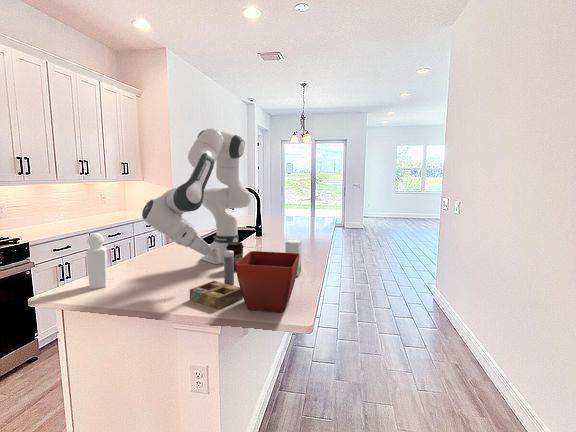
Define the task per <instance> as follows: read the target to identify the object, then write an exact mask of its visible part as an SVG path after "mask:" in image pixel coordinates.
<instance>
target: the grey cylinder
mask: <svg viewBox="0 0 576 432" xmlns="http://www.w3.org/2000/svg"><path fill="white" fill-rule="evenodd" d="M223 277H224V279H223V281H224V282H223V283H225V284H229V285H233V286H235V271H234V251H230V250H229V251H224V264H223Z"/></svg>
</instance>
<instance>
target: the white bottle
mask: <svg viewBox="0 0 576 432" xmlns="http://www.w3.org/2000/svg"><path fill="white" fill-rule="evenodd" d="M104 242H105V238H104V236H103V235H102V234H101V233H98V232H94V233H91V234H90V235H89V236H88V238H87V242H86V243H87V244H88V245H89V248H88V249H87V250H86V252H85V257H86V266H87V274H88V275H87V276H88V284H89V289H90V290H93V289H94V290H95V289H102V288H106V287H107V286H108V260H107V259H108V258H107V257H108V256H107V255H108V254H107V253H108V252H107V249H108V248H107V247H106V246H103V244H104Z"/></svg>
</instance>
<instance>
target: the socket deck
mask: <svg viewBox="0 0 576 432" xmlns="http://www.w3.org/2000/svg"><path fill="white" fill-rule="evenodd" d="M189 300H190V301H191V302H195V303H198V304H202V305H205V306H207V307H211V308H214V309H218V310H221V309H223V308H225V307H228V306H230V305H231V304H234V303H236V302H238V301H241V300H244V298H243V296H242V292H241V289H240V286H237V285H236V286H235V285H229V284H225V283H224V282H221V281H217V280H213V281H209V282H207V283H204V284H201V285H199V286H198V285H197V286H195V287H192V288H189Z"/></svg>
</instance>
